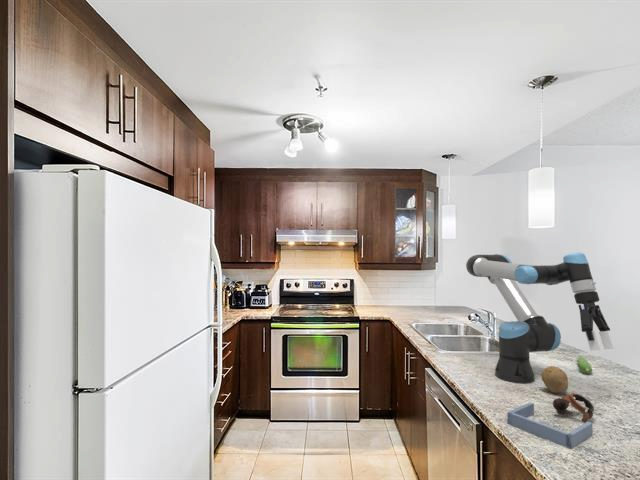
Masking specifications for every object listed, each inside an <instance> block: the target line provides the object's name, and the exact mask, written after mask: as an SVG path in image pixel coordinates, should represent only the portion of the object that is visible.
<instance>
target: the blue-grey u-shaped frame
mask: <svg viewBox="0 0 640 480" xmlns="http://www.w3.org/2000/svg"><path fill="white" fill-rule="evenodd" d="M506 413H507V414H506V415H507V417H506V418H507V425H509V426H512V427H515V428H518V429H520V430H523V431H524V432H528V433H531V434H533V435H535V436H538V437H541V438H543V439H545V440H548V441H551V442H553V443H555V444H558V445H560V446H563V447H566V448H568V449H570V450H572V449H574V448H575V447H577V446H578V445H580V444H581V443H583V442H584V441H586V440H587V439H589V438H590V437H592V436H593V435H594V434H593V432H594V431H593V429H594V427H593V422H591V421H587V422H583V424H581V425H579V426H577V427H576V428H574V429H573V430H570V431H569V432H567V431H564V430H560V429H558V428H555V427H554V426H550V425H547V424H544V423H542V422H539V421H537V420H534V419H532V418H529V417H531V416H533V415H535V404H534V403H533V402H528V403H525V404H523V405H521V406H519V407H516V408H514V409H512V410H509V411H507V412H506Z"/></svg>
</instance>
